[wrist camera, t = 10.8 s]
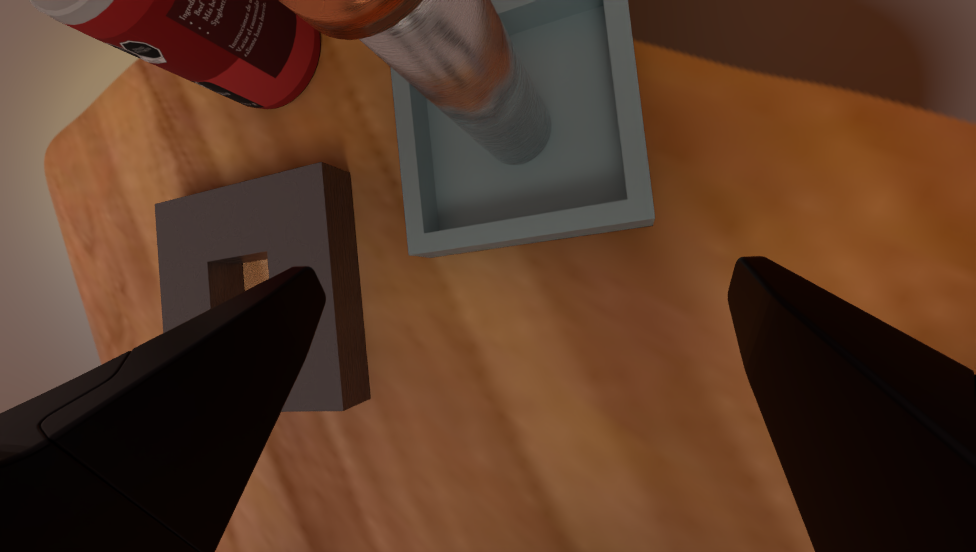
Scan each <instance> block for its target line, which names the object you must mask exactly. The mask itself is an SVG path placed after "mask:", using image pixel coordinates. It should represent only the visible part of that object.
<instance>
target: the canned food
mask: <svg viewBox="0 0 976 552" xmlns="http://www.w3.org/2000/svg"><path fill="white" fill-rule="evenodd" d="M29 1H30V3H31V4H32V5H33V6H34V7H35V8H36V9H37V10H38V11H40V12H42V13H45V14H47V15H49V16H50V17H52V18H53V19H55V20H57V21H59V22H61V23H63V24H65V25H67V26H70V27H72V28H74V29H76V30H78V31H80V32H82V33H84V34H86V35H89V36H91V37H93V38H95V39H97V40H100V41H102V42H104V43H106V44H109V45H111V46H113V47H115V48H118V49H120V50H122V51H124V52H127V53H129V54H131V55H133V56H136V57H138V58H140V59H142V60H145V61H147V62H149V63H151V64H154V65H156V66H158V67H160V68H163V69H165V70H167V71H169V72H172V73H174V74H176V75H178V76H181V77H183V78H185V79H187V80H190V81H192V82H194V83H196V84H199V85H201V86H203V87H205V88H207V89H210V90H212V91H214V92H216V93H219V94H221V95H223V96H225V97H228V98H230V99H232V100H234V101H237V102H239V103H241V104H243V105H246V106H248V107H254V108H262V109H274V108H278V107H281V106H284V105H286V104H287V103H289V102H291V101H292V100H294V99H295V98H296V97H297V96H298V95H299V94H300V93H301V92H302V91H303V90H304V89H305V87H306V86H307V85H308V83H309V81H310V80H311V78H312V76H313V74H314V71H315V69H316V67H317V63H318V59H319V55H320V33H319V31H318V30H316V29H315V28H313V27H312V26H311V25H309V24H308V23H307V22H305V21H304V20H303V19H302V18H300V17H299V16H298V15H297V14H295V13H294V12H293V11H291V10H290V9H289V8H288V7H286V6H285V5H284V4H283V3H281V2H280V1H279V0H29Z"/></svg>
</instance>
